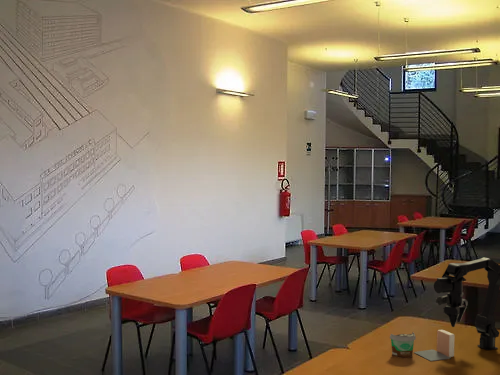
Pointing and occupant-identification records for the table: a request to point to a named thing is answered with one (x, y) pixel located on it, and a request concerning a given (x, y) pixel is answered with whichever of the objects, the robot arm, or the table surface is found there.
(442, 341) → the glazed tile
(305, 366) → the table surface
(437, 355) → the rubber mat
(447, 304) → the robot arm
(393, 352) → the food container
